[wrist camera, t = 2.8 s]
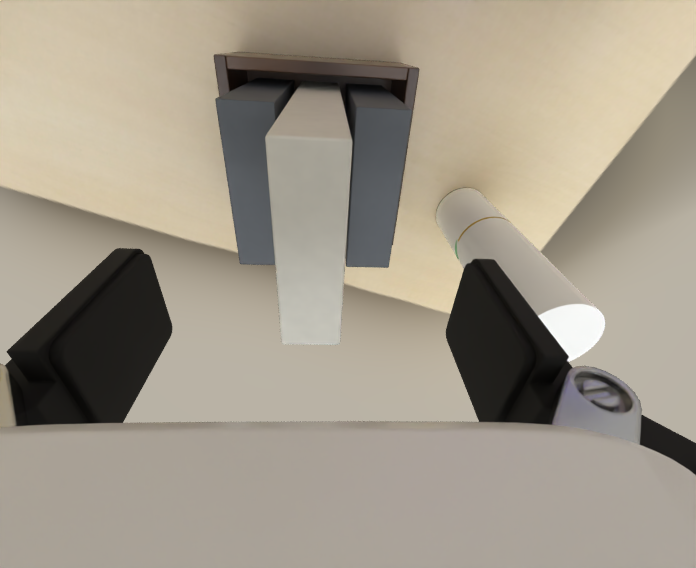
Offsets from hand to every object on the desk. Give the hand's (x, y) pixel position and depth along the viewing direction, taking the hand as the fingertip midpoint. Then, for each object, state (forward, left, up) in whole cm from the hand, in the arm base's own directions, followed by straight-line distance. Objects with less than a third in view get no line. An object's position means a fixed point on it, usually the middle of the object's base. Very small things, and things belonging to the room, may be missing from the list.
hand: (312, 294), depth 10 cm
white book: (0, 0, -18) cm, 18 cm away
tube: (+12, -5, -18) cm, 22 cm away
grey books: (0, 0, -18) cm, 18 cm away
